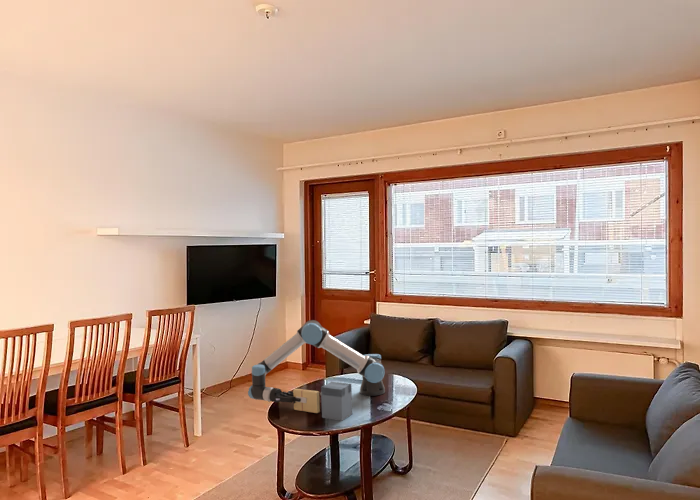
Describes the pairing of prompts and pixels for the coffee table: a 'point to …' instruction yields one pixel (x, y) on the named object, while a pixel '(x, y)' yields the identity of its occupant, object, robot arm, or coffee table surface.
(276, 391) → the robot arm
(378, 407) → the coffee table surface
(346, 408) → the dispenser
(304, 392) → the taped cardboard box
